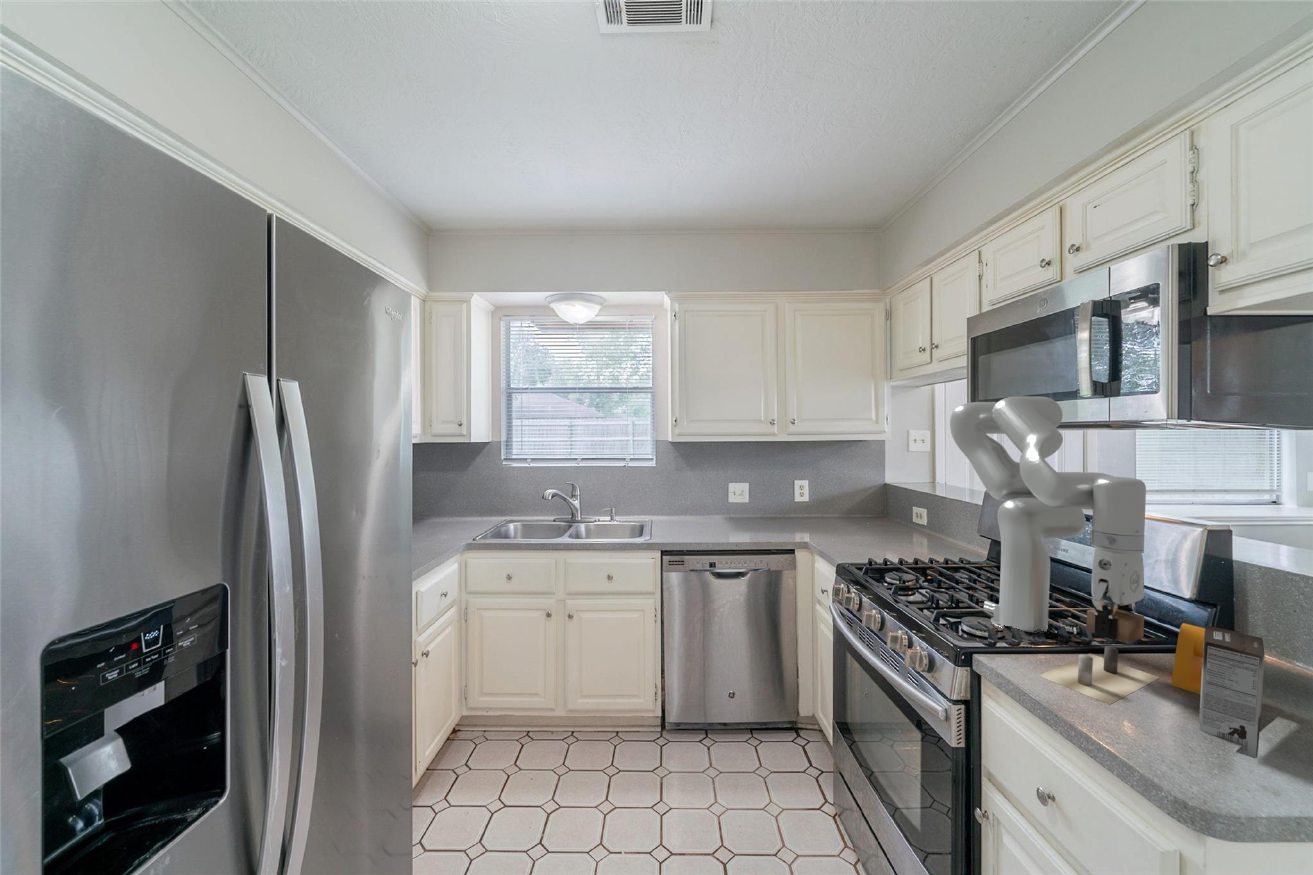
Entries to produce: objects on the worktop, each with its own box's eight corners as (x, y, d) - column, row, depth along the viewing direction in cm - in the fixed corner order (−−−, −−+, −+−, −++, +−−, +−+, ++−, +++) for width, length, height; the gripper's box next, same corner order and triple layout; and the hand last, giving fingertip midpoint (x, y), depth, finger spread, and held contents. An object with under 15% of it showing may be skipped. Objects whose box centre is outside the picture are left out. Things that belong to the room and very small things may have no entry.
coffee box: (1199, 717, 88) (1205, 624, 87) (1257, 734, 83) (1263, 636, 83) (1196, 739, 82) (1202, 639, 81) (1258, 759, 77) (1265, 654, 76)
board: (1038, 683, 99) (1039, 649, 99) (1089, 660, 108) (1091, 629, 108) (1109, 712, 89) (1111, 676, 89) (1159, 685, 98) (1161, 651, 98)
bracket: (1228, 712, 90) (1232, 644, 89) (1170, 693, 96) (1174, 629, 95) (1241, 694, 96) (1246, 630, 95) (1186, 677, 102) (1190, 617, 101)
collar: (1127, 643, 96) (1128, 621, 95) (1086, 630, 101) (1087, 610, 101) (1143, 636, 98) (1144, 616, 98) (1102, 625, 104) (1102, 605, 104)
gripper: (1120, 550, 92) (1117, 650, 93) (1162, 540, 100) (1159, 632, 101) (1071, 542, 99) (1068, 635, 99) (1114, 533, 107) (1111, 619, 107)
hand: (1114, 632), depth 100 cm, fingers closed on collar, 6 cm apart
